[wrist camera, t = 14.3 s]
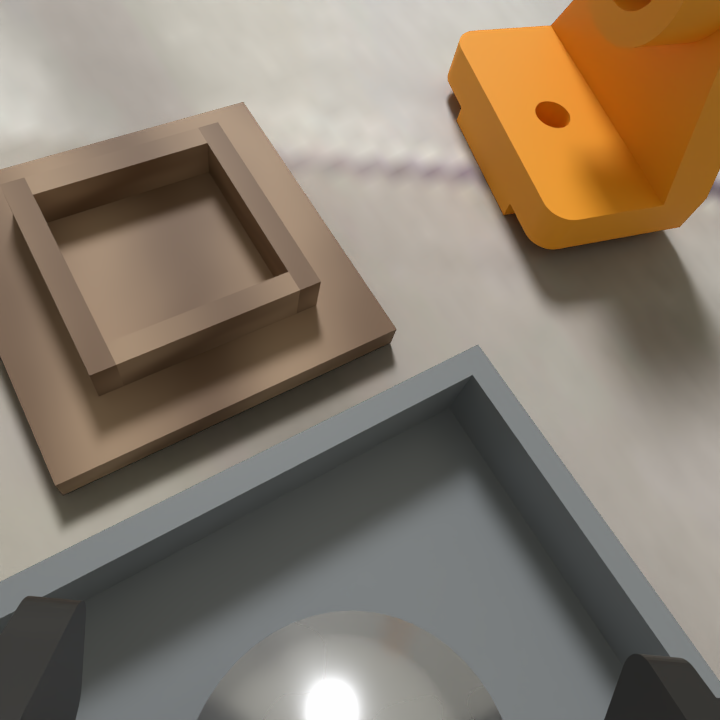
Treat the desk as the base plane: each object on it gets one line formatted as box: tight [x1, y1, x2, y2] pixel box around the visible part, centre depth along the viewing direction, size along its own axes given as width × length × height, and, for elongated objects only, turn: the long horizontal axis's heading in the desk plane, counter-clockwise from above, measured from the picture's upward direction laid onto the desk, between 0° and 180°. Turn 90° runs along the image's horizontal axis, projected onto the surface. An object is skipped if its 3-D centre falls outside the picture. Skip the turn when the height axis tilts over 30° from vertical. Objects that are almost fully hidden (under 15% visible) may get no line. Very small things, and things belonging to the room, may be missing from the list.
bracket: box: [448, 0, 720, 249], centre depth 25 cm, size 11×7×12 cm, turn 18°
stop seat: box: [0, 102, 396, 495], centre depth 23 cm, size 12×12×2 cm
